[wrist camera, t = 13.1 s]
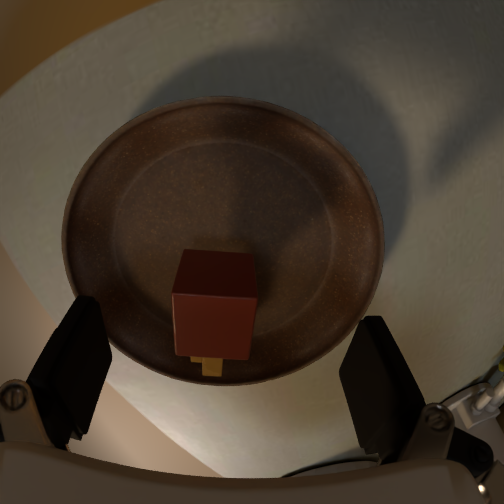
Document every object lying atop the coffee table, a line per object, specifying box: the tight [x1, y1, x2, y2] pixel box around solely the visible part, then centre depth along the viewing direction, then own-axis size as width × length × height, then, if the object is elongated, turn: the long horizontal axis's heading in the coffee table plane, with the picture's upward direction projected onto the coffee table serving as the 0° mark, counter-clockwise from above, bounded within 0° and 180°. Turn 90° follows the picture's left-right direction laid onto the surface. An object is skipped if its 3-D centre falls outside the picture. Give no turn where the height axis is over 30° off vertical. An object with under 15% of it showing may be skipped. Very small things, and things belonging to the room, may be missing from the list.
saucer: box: [61, 96, 385, 386], centre depth 14 cm, size 15×15×3 cm
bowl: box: [291, 461, 377, 477], centre depth 32 cm, size 16×16×4 cm
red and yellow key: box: [171, 249, 258, 377], centre depth 12 cm, size 7×3×3 cm, turn 174°
